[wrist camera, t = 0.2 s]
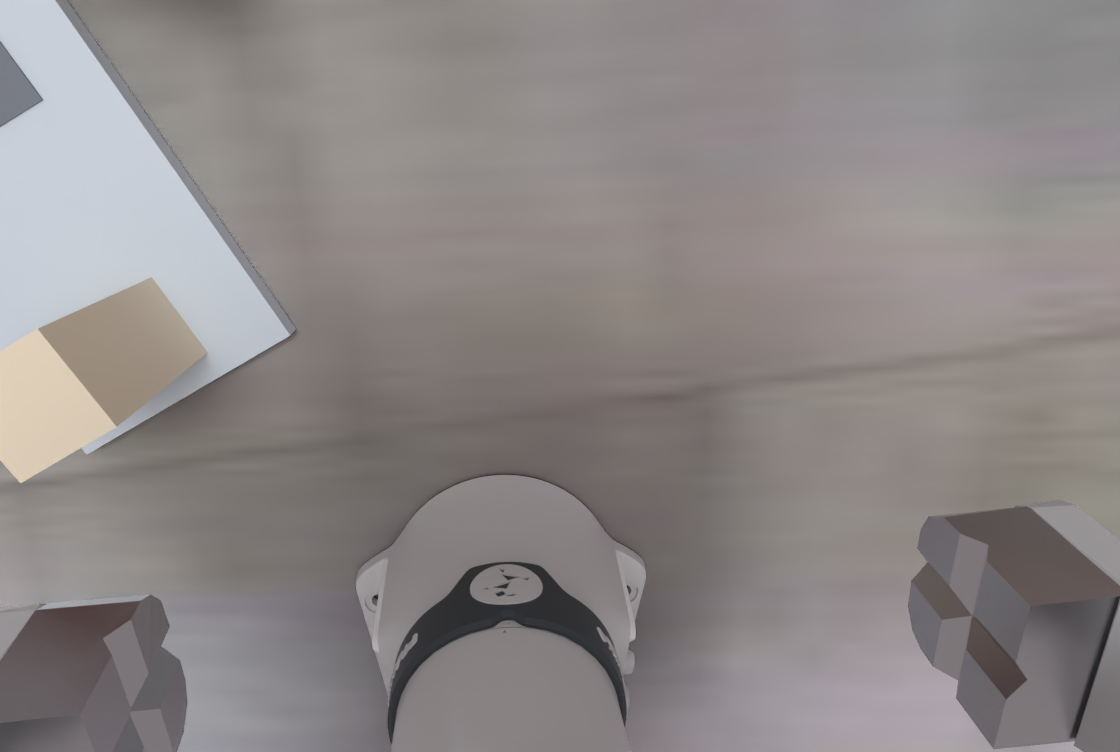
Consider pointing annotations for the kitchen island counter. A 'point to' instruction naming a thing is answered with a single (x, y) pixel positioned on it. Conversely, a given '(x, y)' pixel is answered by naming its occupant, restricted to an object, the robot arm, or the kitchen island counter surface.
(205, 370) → the board
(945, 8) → the kitchen island counter surface
